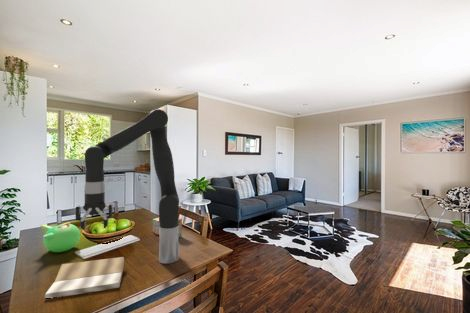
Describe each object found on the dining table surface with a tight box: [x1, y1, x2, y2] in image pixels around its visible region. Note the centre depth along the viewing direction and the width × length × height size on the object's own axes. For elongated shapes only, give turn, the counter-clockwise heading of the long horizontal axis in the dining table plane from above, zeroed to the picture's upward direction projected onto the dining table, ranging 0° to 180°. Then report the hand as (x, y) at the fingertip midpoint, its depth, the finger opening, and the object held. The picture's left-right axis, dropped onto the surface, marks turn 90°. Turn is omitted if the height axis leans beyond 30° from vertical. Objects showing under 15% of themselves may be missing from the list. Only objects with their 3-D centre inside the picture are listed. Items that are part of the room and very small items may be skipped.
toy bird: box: [39, 222, 81, 253], centre depth 121 cm, size 18×17×15 cm
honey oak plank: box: [54, 256, 125, 282], centre depth 97 cm, size 24×8×2 cm, turn 110°
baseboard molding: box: [74, 234, 141, 260], centre depth 127 cm, size 31×3×12 cm
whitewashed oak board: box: [44, 272, 123, 299], centre depth 89 cm, size 24×8×2 cm, turn 110°
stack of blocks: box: [151, 216, 183, 239], centre depth 147 cm, size 21×6×12 cm, turn 58°
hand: (94, 228), depth 99 cm, fingers open, 7 cm apart
